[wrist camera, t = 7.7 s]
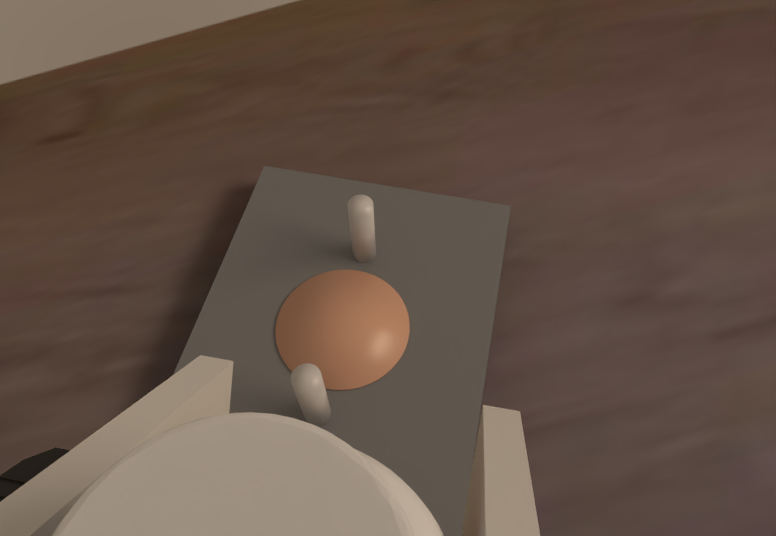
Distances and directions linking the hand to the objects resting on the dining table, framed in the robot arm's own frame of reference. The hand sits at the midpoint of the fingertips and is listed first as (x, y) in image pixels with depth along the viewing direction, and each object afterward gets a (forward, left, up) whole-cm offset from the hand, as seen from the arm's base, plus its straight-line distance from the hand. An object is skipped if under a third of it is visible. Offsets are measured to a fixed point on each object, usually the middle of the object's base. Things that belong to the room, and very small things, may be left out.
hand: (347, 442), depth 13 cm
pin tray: (-1, -10, -15) cm, 18 cm away
